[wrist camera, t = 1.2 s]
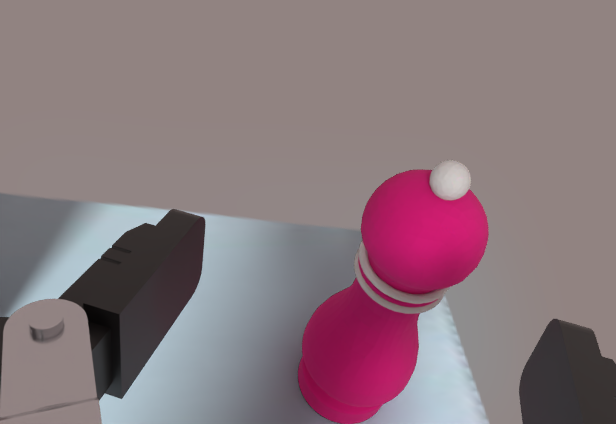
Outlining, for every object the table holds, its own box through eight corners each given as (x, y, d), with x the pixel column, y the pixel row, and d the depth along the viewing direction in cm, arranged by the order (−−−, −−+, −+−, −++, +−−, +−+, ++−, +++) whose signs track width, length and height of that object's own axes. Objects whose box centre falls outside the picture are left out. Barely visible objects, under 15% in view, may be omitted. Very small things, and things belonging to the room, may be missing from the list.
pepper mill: (331, 316, 40) (427, 95, 26) (410, 379, 38) (561, 174, 24) (268, 380, 36) (344, 155, 22) (354, 456, 34) (500, 260, 20)
